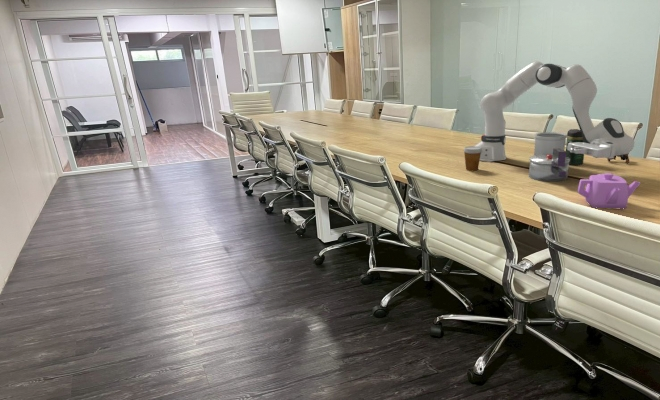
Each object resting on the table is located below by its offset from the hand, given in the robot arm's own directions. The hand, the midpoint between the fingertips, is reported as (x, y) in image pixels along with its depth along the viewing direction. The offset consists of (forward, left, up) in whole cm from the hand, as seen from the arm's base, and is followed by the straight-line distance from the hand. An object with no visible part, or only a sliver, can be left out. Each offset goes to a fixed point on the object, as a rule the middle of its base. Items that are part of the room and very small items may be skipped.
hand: (573, 151), depth 195 cm
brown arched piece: (+18, +50, -15) cm, 55 cm away
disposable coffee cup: (-48, +10, -15) cm, 52 cm away
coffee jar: (-2, +40, -15) cm, 43 cm away
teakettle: (+16, -28, -15) cm, 36 cm away
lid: (-9, +4, -7) cm, 11 cm away
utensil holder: (-13, +28, -15) cm, 34 cm away
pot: (-9, +4, -15) cm, 18 cm away
